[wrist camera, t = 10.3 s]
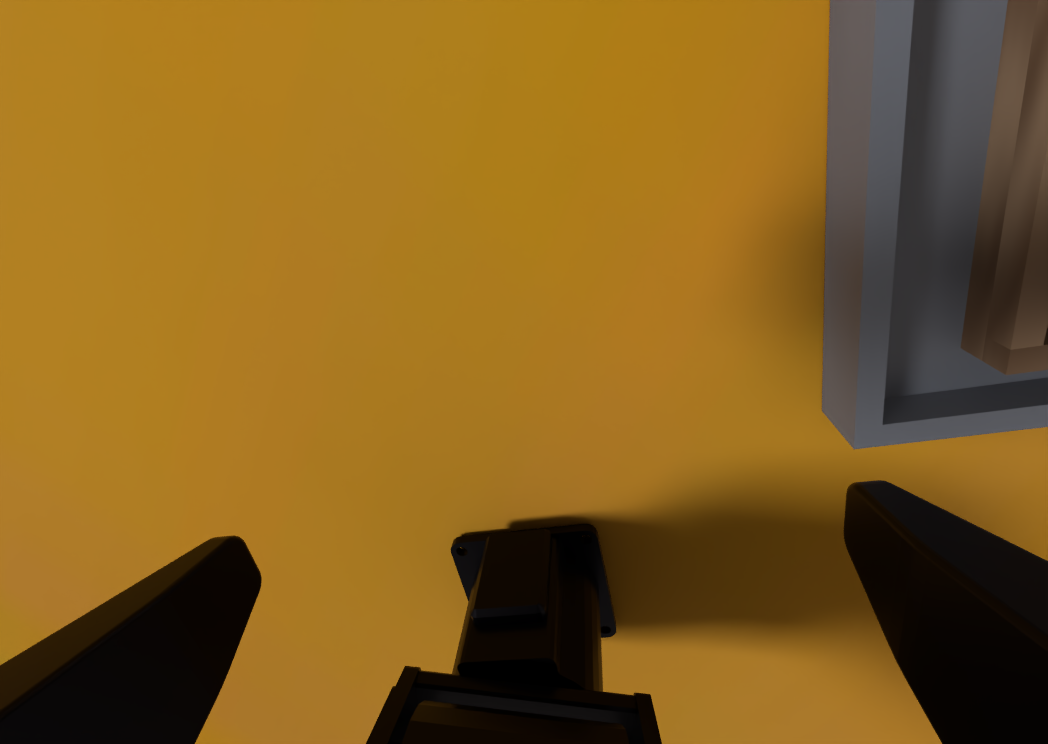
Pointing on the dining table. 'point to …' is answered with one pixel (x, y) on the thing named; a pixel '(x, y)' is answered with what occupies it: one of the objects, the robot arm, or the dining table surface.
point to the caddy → (1014, 206)
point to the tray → (911, 224)
